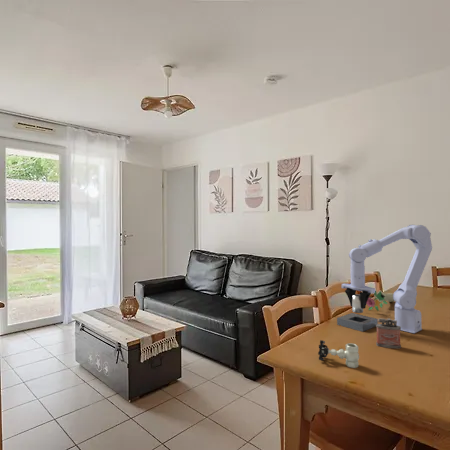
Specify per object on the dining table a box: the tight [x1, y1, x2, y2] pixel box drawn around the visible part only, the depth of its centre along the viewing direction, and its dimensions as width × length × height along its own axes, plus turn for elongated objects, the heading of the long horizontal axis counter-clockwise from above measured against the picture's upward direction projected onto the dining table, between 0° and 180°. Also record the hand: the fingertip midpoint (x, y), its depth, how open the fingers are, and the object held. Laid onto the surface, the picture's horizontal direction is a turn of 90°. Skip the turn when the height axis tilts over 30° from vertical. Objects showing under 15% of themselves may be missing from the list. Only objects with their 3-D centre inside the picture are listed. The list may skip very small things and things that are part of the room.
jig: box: [336, 312, 379, 333], centre depth 143 cm, size 12×12×3 cm
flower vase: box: [366, 289, 395, 312], centre depth 169 cm, size 12×12×35 cm
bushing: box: [351, 293, 364, 314], centre depth 141 cm, size 4×4×7 cm
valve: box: [317, 339, 360, 369], centre depth 106 cm, size 7×7×12 cm
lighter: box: [376, 318, 402, 349], centre depth 119 cm, size 8×3×10 cm, turn 71°
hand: (357, 307), depth 141 cm, fingers closed on bushing, 4 cm apart
